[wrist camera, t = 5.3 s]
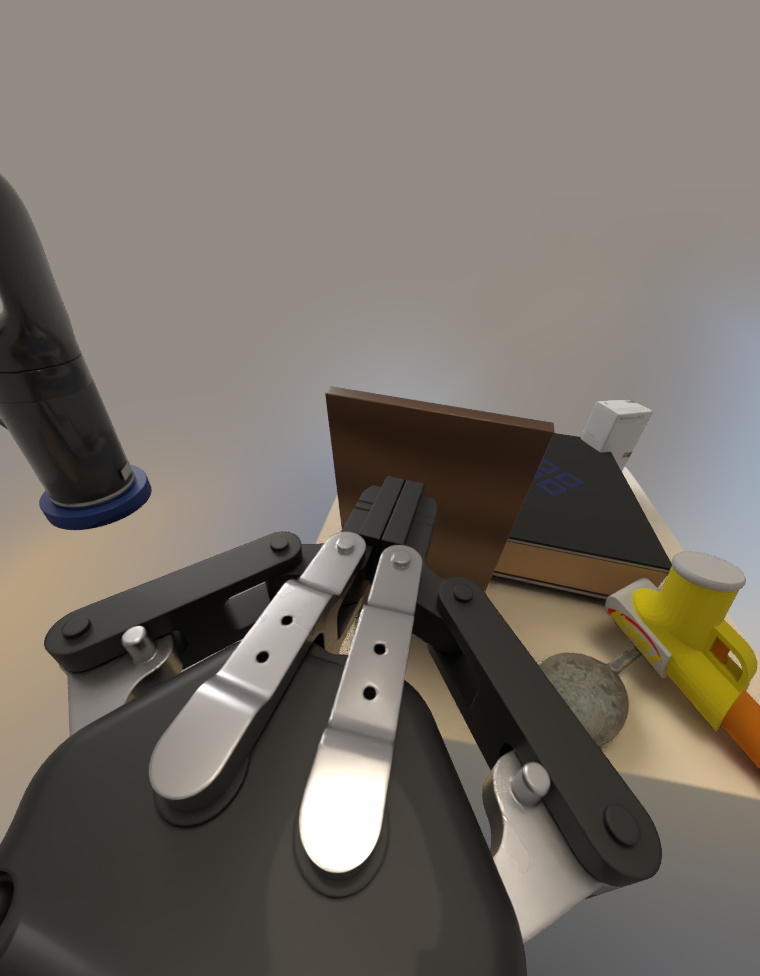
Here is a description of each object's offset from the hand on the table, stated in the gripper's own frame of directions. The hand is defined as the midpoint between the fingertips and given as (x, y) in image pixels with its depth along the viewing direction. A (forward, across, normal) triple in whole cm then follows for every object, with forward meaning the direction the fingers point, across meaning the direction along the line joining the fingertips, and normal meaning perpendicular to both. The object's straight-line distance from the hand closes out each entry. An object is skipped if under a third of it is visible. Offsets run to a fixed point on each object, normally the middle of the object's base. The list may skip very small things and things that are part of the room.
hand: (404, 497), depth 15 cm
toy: (+9, -25, +11) cm, 29 cm away
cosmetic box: (+42, -21, +22) cm, 52 cm away
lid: (+8, 0, +6) cm, 10 cm away
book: (+30, -13, +22) cm, 39 cm away
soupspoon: (+14, -18, +21) cm, 31 cm away
